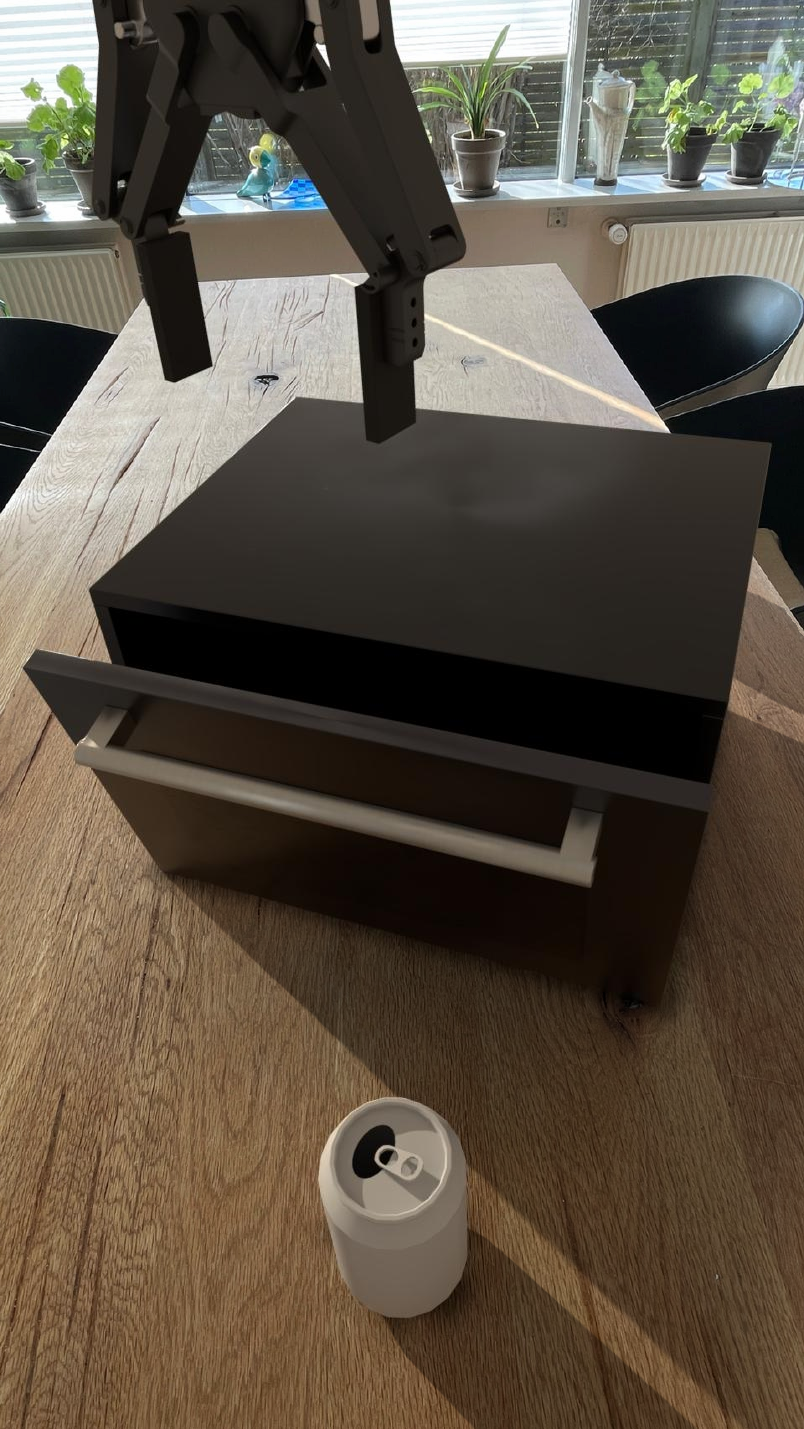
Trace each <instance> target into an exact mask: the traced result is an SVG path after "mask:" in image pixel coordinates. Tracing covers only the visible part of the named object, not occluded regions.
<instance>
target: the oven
mask: <svg viewBox="0 0 804 1429" xmlns="http://www.w3.org/2000/svg"><path fill="white" fill-rule="evenodd" d="M771 449H772V442H765V441H755V440H754V441H753V440H744V439H736V438H735V439H734V438H726V437H725V438H723V437H714V436H704V435H696V434H695V435H693V434H685V433H684V434H683V433H673V432H663V431H654V430H643V429H633V428H623V427H612V426H601V425H600V426H599V425H591V424H582V423H581V424H580V423H571V422H562V421H549V420H540V419H531V418H530V419H529V418H520V417H509V416H499V415H489V414H480V413H469V412H458V411H449V410H437V409H427V408H419V407H416V423H415V424H413V425H411V426H410V427H408V428H406V429H405V430H403V431H401V432H399V433H398V434H396V435H394V436H392V437H391V438H389V439H387V440H386V441H384V442H382V443H380V444H376V443H373V442H370V441H366V433H365V420H364V407H363V402H357V401H347V400H338V399H337V400H336V399H327V398H316V397H307V396H306V397H304V396H295V397H293V399H291V400H290V402H288V403H287V404H286V405H285V406H284V407H283V408H282V409H280V411H279V412H278V413H276V414H275V415H274V416H273V417H272V418H271V419H270V420H269V421H268V422H267V423H266V424H264V425H263V427H261V428H260V429H259V430H258V431H257V432H256V433H255V434H254V435H253V436H252V437H251V438H250V439H248V440H247V441H246V442H245V443H244V444H243V445H242V446H240V448H238V450H236V451H235V452H234V453H233V454H232V455H231V456H230V457H229V458H228V459H227V460H226V461H225V462H223V463H222V464H221V466H219V467H218V468H217V469H216V470H215V471H214V472H212V474H211V475H209V476H208V477H207V478H206V479H205V480H204V481H203V482H202V483H201V484H200V485H199V486H197V488H195V489H194V490H193V491H192V492H191V493H190V494H189V495H188V496H187V497H186V498H185V499H183V501H181V502H180V503H179V504H178V506H176V507H175V508H174V509H173V510H172V511H171V512H169V513H168V514H167V515H166V516H165V518H163V519H162V520H161V521H160V522H158V524H156V526H154V527H153V528H152V529H151V530H150V531H149V532H148V533H147V534H146V535H145V536H144V537H143V538H142V539H141V540H140V541H138V542H137V543H136V544H135V545H134V546H133V547H132V548H131V549H129V551H128V552H126V553H125V554H124V555H123V556H122V557H121V558H120V559H119V560H118V561H116V563H114V564H113V565H112V566H111V567H110V568H109V569H108V570H107V571H106V572H105V573H104V574H103V575H101V577H100V578H98V580H96V581H95V582H94V583H93V584H92V585H91V586H90V587H89V588H88V593H89V597H90V599H91V602H92V604H93V605H92V606H93V610H94V612H95V615H96V618H97V619H96V620H97V621H98V625H99V627H100V631H101V634H102V638H103V640H104V643H105V647H106V650H107V654H108V656H109V659H110V662H111V664H116V665H120V666H125V667H130V668H135V669H140V670H145V671H150V672H155V673H160V674H165V675H170V676H175V677H180V678H185V679H190V680H195V681H200V682H205V683H210V684H215V685H220V686H225V687H229V688H234V689H239V690H244V691H249V692H254V693H259V694H264V695H269V696H274V697H279V698H284V699H289V700H294V701H299V702H304V703H309V704H314V705H319V706H324V707H329V708H334V709H339V710H343V711H348V712H353V713H358V714H363V715H368V716H373V717H378V718H383V719H388V720H393V721H398V722H403V723H408V724H413V725H418V726H423V727H428V728H433V729H438V730H443V731H448V732H453V733H457V734H462V735H467V736H472V737H477V738H482V739H487V740H492V741H497V742H502V743H507V744H512V745H517V746H522V747H527V748H532V749H537V750H542V751H547V752H552V753H557V754H562V755H566V756H571V757H576V758H581V759H586V760H591V761H596V762H601V763H606V764H611V765H616V766H621V767H626V768H631V769H636V770H641V771H646V772H651V773H656V774H661V775H666V776H671V777H676V778H680V779H685V780H690V781H695V782H700V783H705V784H710V785H712V779H713V774H714V770H715V765H716V763H717V762H716V761H717V757H718V752H719V749H720V743H721V740H722V735H723V730H724V727H725V726H724V725H725V721H726V716H727V712H728V708H729V704H730V697H731V692H732V686H733V679H734V673H735V667H736V662H737V655H738V649H739V643H740V638H741V631H742V626H743V619H744V612H745V607H746V601H747V596H748V589H749V583H750V577H751V570H752V566H753V558H754V553H755V546H756V540H757V536H758V534H757V533H758V530H759V529H758V528H759V523H760V516H761V510H762V503H763V497H764V492H765V486H766V481H767V474H768V467H769V461H770V457H771V456H770V455H771Z"/></svg>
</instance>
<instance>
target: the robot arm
mask: <svg viewBox="0 0 804 1429" xmlns="http://www.w3.org/2000/svg"><path fill="white" fill-rule="evenodd" d="M91 2H92V9H93V16H94V22H95V23H94V24H95V30H96V36H97V41H98V54H97V55H98V56H97V76H96V95H95V96H96V97H95V115H94V116H95V118H94V119H95V120H94V139H93V157H92V158H93V161H92V162H93V163H92V179H91V180H92V181H91V182H92V183H91V206H92V210H93V212H94V214H95V216H96V217H97V218H98V219H99V220H100V221H102V222H106V221H110V220H112V221H113V222H114V223H116V224H117V225H119V228H120V231H121V233H122V234H123V237H124V238H126V239H127V240H129V241H130V243H131V245H132V251H133V255H134V260H135V264H136V269H137V273H138V278H139V282H140V288H141V293H142V296H143V298H144V300H145V303H146V305H147V307H148V309H149V312H150V317H151V321H152V326H153V331H154V337H155V341H156V346H157V349H158V355H159V359H160V363H161V369H162V374H163V379H164V381H166V382H169V383H173V384H177V383H178V382H180V381H182V380H185V379H187V378H190V377H192V376H194V375H197V374H198V373H201V372H203V371H206V370H208V369H210V368H212V367H214V363H213V359H212V358H213V357H212V353H211V346H210V341H209V336H208V329H207V324H206V319H205V313H204V307H203V302H202V295H201V290H200V284H199V279H198V273H197V268H196V262H195V257H194V250H193V246H192V239H191V233H190V232H188V231H183V230H177V231H174V232H170V231H169V230H170V229H173V228H176V227H180V226H183V225H185V223H186V222H187V221H186V219H182V218H183V216H182V215H181V213H180V209H181V207H182V204H183V202H184V198H185V196H186V193H187V190H188V188H189V184H190V182H191V179H192V177H193V174H194V171H195V168H196V165H197V162H198V160H199V157H200V154H201V151H202V149H203V146H204V143H205V140H206V138H207V135H208V132H209V130H210V126H211V124H212V121H213V119H214V117H217V116H222V115H225V114H231V115H232V116H234V117H237V118H239V119H241V120H253V121H255V120H259V119H262V120H263V122H264V123H265V125H266V126H267V128H268V129H269V130H270V131H271V132H272V133H274V134H275V135H277V136H279V137H282V138H283V139H284V140H286V142H287V143H288V145H289V147H290V148H291V150H292V152H293V153H294V155H295V156H296V159H297V160H298V162H299V163H300V165H301V167H302V168H303V170H304V172H305V173H306V175H307V176H308V178H309V180H310V181H311V183H312V185H313V187H314V188H315V190H316V192H317V193H318V195H319V196H320V198H321V199H322V201H323V202H324V205H325V206H326V208H327V210H328V211H329V212H330V214H331V216H332V218H333V219H334V220H335V222H336V224H337V226H338V227H339V229H340V231H341V232H342V234H343V236H344V237H345V239H346V241H347V243H349V245H350V247H351V249H352V250H353V252H354V254H355V256H356V257H357V258H358V260H359V262H360V263H361V265H362V267H363V268H364V270H365V272H366V273H367V275H368V278H367V279H365V281H364V282H363V283H360V284H358V285H355V286H354V287H353V288H354V301H355V314H356V327H357V340H358V341H357V342H358V354H359V366H360V367H359V368H360V380H361V381H360V382H361V391H362V393H361V394H362V403H363V407H364V420H365V433H366V441H370V442H373V443H376V444H380V443H382V442H384V441H386V440H387V439H389V438H391V437H392V436H394V435H396V434H398V433H399V432H401V431H403V430H405V429H406V428H408V427H410V426H411V425H413V424H415V423H416V408H417V406H416V405H417V403H416V384H415V382H416V381H415V380H416V379H415V361H417V360H418V359H421V358H422V357H423V355H424V351H425V348H426V323H425V320H426V319H425V288H424V286H425V280H426V278H427V276H428V275H431V274H433V273H435V272H437V271H440V270H442V269H444V268H447V267H449V266H451V265H454V264H456V263H459V262H460V261H462V260H463V259H464V257H465V255H466V254H467V243H466V242H467V241H466V238H465V235H464V233H463V229H462V227H461V224H460V221H459V219H458V216H457V213H456V211H455V208H454V204H453V202H452V199H451V197H450V194H449V191H448V188H447V185H446V183H445V182H446V181H445V179H444V177H443V175H442V171H441V169H440V165H439V163H438V161H437V157H436V155H435V154H436V153H435V152H434V149H433V146H432V143H431V141H430V138H429V135H428V133H427V130H426V127H425V124H424V122H423V119H422V116H421V114H420V110H419V107H418V104H417V102H416V99H415V97H414V94H413V91H412V88H411V86H410V82H409V79H408V77H407V74H406V72H405V68H404V65H403V63H402V59H401V58H400V57H401V56H400V54H399V51H398V49H397V46H396V40H395V32H394V24H393V15H392V14H393V13H392V6H391V0H91ZM317 44H318V45H319V46H325V52H326V58H327V61H328V63H327V61H326V60H325V58H324V57H323V55H322V53H321V52H320V50H319V48H318V46H317ZM328 64H329V65H328ZM302 88H303V90H301V89H302ZM120 181H123V185H121V186H119V182H120ZM181 219H182V220H181Z"/></svg>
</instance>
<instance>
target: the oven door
mask: <svg viewBox="0 0 804 1429" xmlns="http://www.w3.org/2000/svg"><path fill="white" fill-rule="evenodd" d="M21 668H22V670H23V671H24V673H25V674H26V675H27V678H29V680H30V681H31V683H32V684H33V685H34V688H35V689H36V690H37V691H38V693H39V695H40V696H41V698H42V699H43V700H44V702H45V704H46V705H47V706H48V708H49V710H50V711H51V712H52V714H53V715H54V716H55V718H56V719H57V721H58V722H59V724H60V726H61V727H62V729H64V730H63V731H64V732H65V733H66V734H67V736H68V737H69V739H70V740H71V741H72V743H73V744H74V746H75V749H74V752H73V759H74V762H75V763H76V765H78V766H81V767H87V768H90V769H91V771H92V772H93V774H94V775H95V776H96V778H97V779H98V782H100V784H101V785H102V787H103V788H104V789H105V791H106V792H107V794H108V796H109V797H110V798H111V800H112V801H113V803H114V804H115V806H116V807H117V809H118V811H119V812H120V813H121V815H122V816H123V817H124V819H125V820H126V822H127V823H128V825H129V827H130V828H131V829H132V831H133V832H134V833H135V835H136V836H137V838H138V840H139V841H140V843H141V844H142V846H143V847H144V848H145V850H146V851H147V853H148V854H149V856H150V857H151V858H152V860H153V862H154V863H155V864H156V866H157V867H158V869H159V870H160V871H161V872H165V873H167V874H172V875H175V876H179V877H183V878H186V879H190V880H193V881H198V882H201V883H205V884H208V885H212V886H216V887H220V888H223V889H225V890H231V891H234V892H238V893H242V894H244V895H249V896H252V897H256V898H259V899H263V900H268V901H271V902H274V903H279V904H282V905H286V906H290V907H293V908H296V909H301V910H304V911H307V912H312V913H315V914H319V915H323V916H326V917H329V918H333V919H337V920H341V921H345V922H348V923H352V924H356V925H359V926H363V927H366V928H371V929H374V930H377V931H381V932H384V933H388V934H391V935H395V936H400V937H404V938H407V939H411V940H414V941H418V942H422V943H425V944H428V945H432V946H436V947H440V948H443V949H447V950H450V951H455V952H459V953H462V954H465V955H469V956H473V957H476V958H480V959H484V960H487V961H491V962H495V963H498V964H501V965H505V966H510V967H514V968H517V969H521V970H523V971H528V972H532V973H535V974H539V975H542V976H546V977H550V978H553V979H556V980H561V981H564V982H569V983H573V984H576V985H578V986H579V985H580V986H582V987H583V986H584V987H587V988H590V989H594V990H598V991H602V992H606V993H608V994H612V995H616V996H619V997H624V998H627V999H631V1000H635V1001H639V1002H642V1003H646V1004H649V1005H652V1006H653V1005H654V1006H656V1007H662V1006H663V1002H664V999H665V998H664V997H665V995H666V990H667V986H668V982H669V977H670V974H671V970H672V966H673V961H674V957H675V954H676V950H677V946H678V941H679V938H680V934H681V930H682V926H683V921H684V917H685V913H686V910H687V906H688V901H689V897H690V893H691V890H692V885H693V881H694V878H695V874H696V870H697V865H698V861H699V857H700V853H701V849H702V846H703V842H704V837H705V834H706V829H707V825H708V821H709V817H710V813H711V808H712V802H713V797H714V791H715V785H714V784H705V783H700V782H695V781H690V780H685V779H680V778H676V777H671V776H666V775H661V774H656V773H651V772H646V771H641V770H636V769H631V768H626V767H621V766H616V765H611V764H606V763H601V762H596V761H591V760H586V759H581V758H576V757H571V756H566V755H562V754H557V753H552V752H547V751H542V750H537V749H532V748H527V747H522V746H517V745H512V744H507V743H502V742H497V741H492V740H487V739H482V738H477V737H472V736H467V735H462V734H457V733H453V732H448V731H443V730H438V729H433V728H428V727H423V726H418V725H413V724H408V723H403V722H398V721H393V720H388V719H383V718H378V717H373V716H368V715H363V714H358V713H353V712H348V711H343V710H339V709H334V708H329V707H324V706H319V705H314V704H309V703H304V702H299V701H294V700H289V699H284V698H279V697H274V696H269V695H264V694H259V693H254V692H249V691H244V690H239V689H234V688H229V687H225V686H220V685H215V684H210V683H205V682H200V681H195V680H190V679H185V678H180V677H175V676H170V675H165V674H160V673H155V672H150V671H145V670H140V669H135V668H130V667H125V666H120V665H116V664H112V663H109V662H105V661H101V660H95V659H90V658H85V657H81V656H75V655H71V654H66V653H61V652H56V651H51V650H45V649H42V648H41V649H40V648H35V649H34V650H33V652H32V653H31V654H30V656H29V657H28V658H27V660H26V661H25V663H24V664H23V665H22V667H21Z"/></svg>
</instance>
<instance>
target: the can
mask: <svg viewBox="0 0 804 1429" xmlns="http://www.w3.org/2000/svg"><path fill="white" fill-rule="evenodd" d="M317 1180H318V1186H319V1187H318V1188H319V1191H320V1195H321V1202H322V1206H323V1210H324V1213H325V1218H326V1221H327V1226H328V1230H329V1233H330V1238H331V1241H332V1245H333V1249H334V1253H335V1256H336V1261H337V1266H338V1269H339V1273H340V1276H341V1277H342V1280H343V1281H344V1283H345V1285H346V1286H347V1288H348V1290H349V1292H350V1294H351V1295H352V1296H353V1297H354V1298H355V1299H356V1300H357V1301H359V1303H360V1304H362V1305H363V1306H364V1307H365V1308H366V1309H367V1310H370V1311H372V1312H375V1313H377V1314H379V1315H382V1316H384V1317H387V1318H398V1319H399V1318H400V1319H402V1318H403V1319H410V1318H413V1317H417V1316H420V1315H423V1314H426V1313H429V1312H432V1311H433V1310H434V1309H435V1308H437V1307H438V1306H439V1305H440V1304H442V1303H443V1302H444V1301H446V1300H447V1299H448V1298H449V1297H450V1295H452V1292H453V1291H454V1290H455V1288H456V1287H457V1285H458V1284H459V1282H460V1281H461V1279H462V1277H463V1273H464V1270H465V1266H466V1263H467V1259H468V1199H467V1198H468V1197H467V1196H468V1194H467V1191H468V1190H467V1189H468V1188H467V1159H466V1157H465V1153H464V1151H463V1147H462V1144H461V1140H460V1138H459V1136H458V1135H457V1133H456V1132H455V1131H454V1129H453V1128H452V1127H451V1125H450V1124H449V1122H448V1121H447V1120H446V1119H445V1118H443V1117H442V1116H441V1115H440V1114H439V1113H437V1112H436V1111H434V1110H433V1109H431V1108H430V1107H429V1106H427V1105H424V1104H423V1103H421V1102H418V1101H415V1100H412V1099H409V1098H406V1097H394V1096H393V1097H390V1096H386V1097H385V1096H384V1097H379V1098H377V1099H373V1100H369V1101H367V1102H365V1103H363V1104H362V1105H360V1106H359V1107H357V1108H356V1109H353V1110H352V1111H350V1112H349V1114H348V1115H347V1116H346V1117H344V1118H343V1120H341V1121H340V1123H339V1124H338V1125H337V1126H336V1128H335V1129H334V1130H333V1131H332V1132H331V1133H330V1135H329V1136H328V1139H327V1142H326V1144H325V1146H324V1149H323V1151H322V1153H321V1155H320V1161H319V1168H318V1178H317Z"/></svg>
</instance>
